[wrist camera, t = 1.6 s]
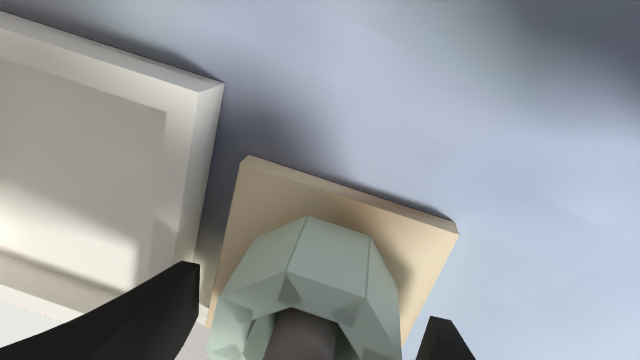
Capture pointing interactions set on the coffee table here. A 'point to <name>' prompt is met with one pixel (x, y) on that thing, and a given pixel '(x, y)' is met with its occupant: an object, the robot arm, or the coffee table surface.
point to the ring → (309, 292)
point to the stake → (341, 209)
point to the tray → (95, 168)
